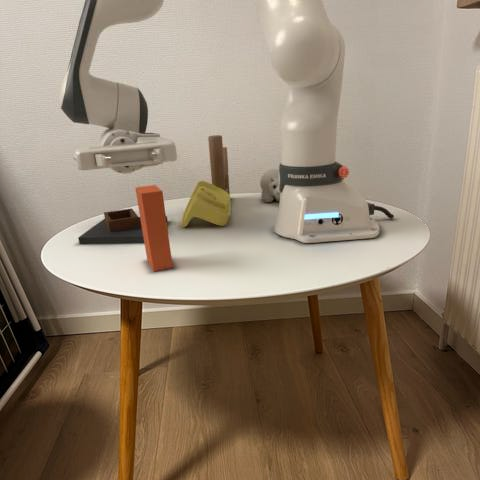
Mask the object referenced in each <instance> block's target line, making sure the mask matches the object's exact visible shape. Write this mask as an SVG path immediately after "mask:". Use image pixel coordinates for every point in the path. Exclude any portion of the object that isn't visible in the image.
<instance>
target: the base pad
mask: <svg viewBox="0 0 480 480" xmlns="http://www.w3.org/2000/svg"><path fill="white" fill-rule="evenodd" d="M103 216H104V219H102V220H101V221H99V222H97V223H96V224H95V225H93V226H92V227H91V228H89V229H88V230H86V231H85V232H84V233H82V234H81V235H80V236H78V237H77V238H78V243H79V244H80V245H99V244H101V245H103V244H104V245H105V244H106V245H107V244H145V243H144V237H143V231H142V225H141V219H140V216H139V215H138V214H137V213H136V212H135V211H134V209H133V208H131V207H130V208H123V209H117V210H111V211H104V212H103ZM166 221H167V223H168V222H169V219H168V216H167V215H166Z"/></svg>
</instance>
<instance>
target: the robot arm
mask: <svg viewBox="0 0 480 480" xmlns="http://www.w3.org/2000/svg"><path fill="white" fill-rule="evenodd" d="M164 1H165V0H84V3H83V7H82V11H81V15H80V19H79V22H78V26H77V30H76V34H75V38H74V42H73V47H72V50H71V54H70V59H69V62H68V66H67V71H66V73H65V76H64V77H63V80H62V82H61V86H60V89H59V105H60V109H61V111H62V112H63V113H64V114H65V116H66V117H67V118H68V119H69V120H70V121H72V122H73V123H75V124H82V125H94V126H97V127H101V128H105V129H103V130H102V131H101V133H100V134H99V136H98V138H97V142H96V143H97V145H96V146H87V147H86V146H85V147H79V148H77V149H76V150H75V152H74V154H73V160H74V161H76V165H77V169H78V170H79V171H91V170H101V169H111V170H112V171H114V172H116V173H118V174H124V175H125V174H126V175H127V174H132V173H134V172H136V171H139V170H141V169H144V168H148V167H153V166H158V165H162V164H164V163H167V162H174V161H175V162H176V161H177V159H178V155H177V154H178V153H177V146H176V143H175V142H174V141H173V140H172V139H169V138H168V137H164V136H161V134H160V133H158V132H147V127H148V121H149V120H148V119H149V108H148V107H149V106H148V102H147V100H146V98H145V97H144V94H143V93H142V91H141V90H140V89H139V87H136V86H132V85H129V84H126V83H121V82H115V81H112V80H108V79H104V78H102V77H101V78H100V77H96V76H94V75H92V74H91V73H90V69H91V66H92V62H93V59H94V55H95V51H96V47H97V44H98V40H99V38H100V35H101V34H102V33H103V32H104V31H105V30H106V29H108V28H110V27H112V26H113V27H114V26H117V25H123V24H134V23H140V22H143V21H146V20H148V19H149V20H150V19H151V18H153V17H154V16H155V15H156V14H158V13H159V12H160V10H161V8H162V7H163V4H164ZM253 2H254V4H255V7H256V10H257V14H258V18H259V21H260V25H261V29H262V33H263V35H264V36H263V37H264V39H265V42H266V45H267V48H268V49H267V50H268V51H269V60H270V63H271V66H272V68H273V70H274V71H275V74H277V76H278V77H279V78H280V79H281V80H282V81H283V82H284V83H286V91H285V92H286V93H285V98H284V106H283V112H282V116H281V120H280V164H279V166H278V170H279V175H278V177H279V191H280V202H279V205H278V211H277V217H276V221H275V225H274V229H273V231H274V233H276V234H277V235H278V236H281V237H284V238H288V239H293V240H296V241H298V242H300V243H304V244H313V243H326V242H327V243H329V242H339V241H340V242H341V241H350V240H351V241H352V240H364V239H375V238H376V237H378V236H379V234H380V226H379V223H378V222H377V220H375V219H373V218H371V217H370V216H372V215H375V211H379V212H381V213H383V214H384V215H385V216H386V217H387V218H388V219H394V218H395V216H394V214H393V213H391V212H390V211H389V210H388V209H386V208H385V207H383V206H380V205H376V204H374V203H370V202H368V201H367V200H366V198H365V197H364V196H363V195H362V194H360V192H358V190H356V189H355V188H354V187H353V186H351V185H350V184H349V183H347V182H346V181H345V179H346V178H348V176H349V175H350V170H349V168H348V167H347V166H345V165H343V164H342V163H340V162H338V161H336V155H337V154H336V153H337V134H338V131H337V130H338V117H339V109H340V103H341V96H342V95H341V94H342V85H343V78H344V77H343V76H344V67H345V54H346V45H345V39H344V36H343V34H342V33H341V31H340V29H338V27H337V26H335V25H334V24H333V23H332V22H331V21H330V19H329V17H328V15H327V11H326V8H325V6H324V3H323V0H253Z"/></svg>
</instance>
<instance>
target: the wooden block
mask: <svg viewBox="0 0 480 480" xmlns="http://www.w3.org/2000/svg"><path fill="white" fill-rule="evenodd" d="M207 141H208V153H209V164H210V166H209V167H210V177H211V184H213V185H215V186H216V187H218V188H221V189H223V190H224V191H226V192H227V193H228V194H229V195H230V196H231V192H230V179H229V177H230V176H229V161H228V147H226V146H223V136H222V135H219V134H215V135H214V134H213V135H209V136H208V137H207Z"/></svg>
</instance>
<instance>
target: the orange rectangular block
mask: <svg viewBox="0 0 480 480" xmlns="http://www.w3.org/2000/svg"><path fill="white" fill-rule="evenodd" d="M134 190H135V195H136V201H137V206H138V212H139V217H140V219H141V225H142V231H143V237H144V243H143V244H144V249H145V255H146V261H147V264H149V265H150V268H151V269H152V271H153V272H158V271H159V272H160V271H163V270H169V269H173V268H174V266H173V258H172V251H171V245H170V244H171V243H170V236H169V230H168V222H167V221H166V216H167V215H166V207H165V200H164V194H163V190H162V189H161V188H159V186H157V185H156V184H153V185H144V186H136V187H135V188H134Z"/></svg>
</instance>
